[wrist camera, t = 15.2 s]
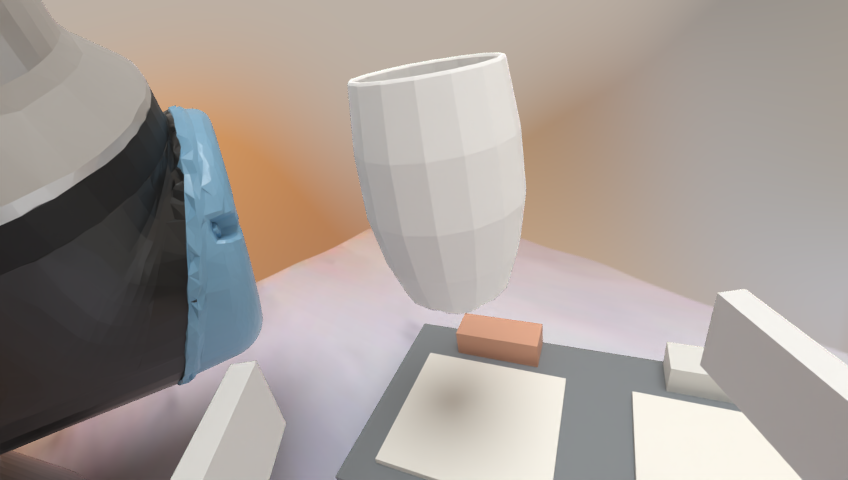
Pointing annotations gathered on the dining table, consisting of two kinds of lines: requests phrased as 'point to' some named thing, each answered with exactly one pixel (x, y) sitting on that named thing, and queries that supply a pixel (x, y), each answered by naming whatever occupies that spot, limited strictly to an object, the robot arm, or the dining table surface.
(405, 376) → the coaster board
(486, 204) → the cup
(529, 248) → the dining table surface
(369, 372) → the dining table surface
